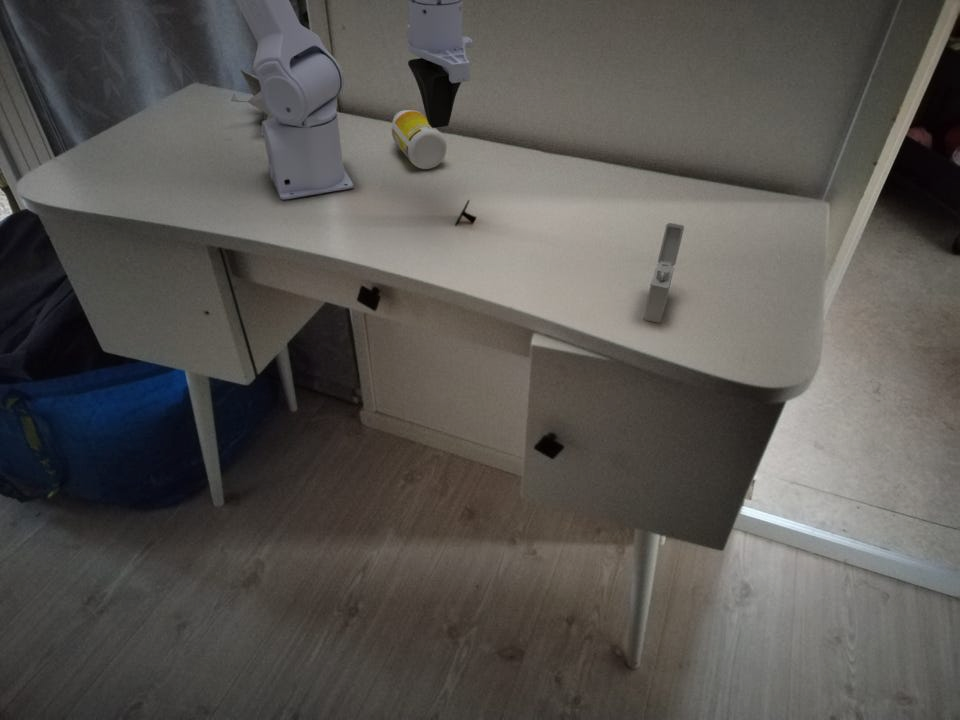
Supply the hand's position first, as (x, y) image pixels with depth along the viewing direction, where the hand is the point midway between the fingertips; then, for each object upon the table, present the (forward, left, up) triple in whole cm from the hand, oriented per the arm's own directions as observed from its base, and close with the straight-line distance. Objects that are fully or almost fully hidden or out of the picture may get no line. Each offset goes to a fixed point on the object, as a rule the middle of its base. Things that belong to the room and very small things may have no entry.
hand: (438, 125), depth 83 cm
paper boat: (-16, +35, -11) cm, 40 cm away
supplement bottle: (+2, +10, -8) cm, 12 cm away
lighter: (+14, -28, -11) cm, 33 cm away
